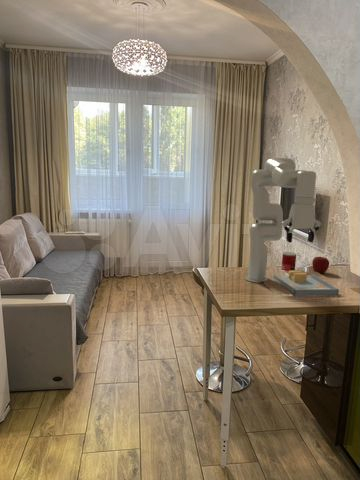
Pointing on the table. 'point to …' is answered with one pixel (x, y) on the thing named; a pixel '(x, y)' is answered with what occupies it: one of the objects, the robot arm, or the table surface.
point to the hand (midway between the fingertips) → (299, 241)
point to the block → (297, 276)
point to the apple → (320, 264)
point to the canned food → (288, 261)
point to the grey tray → (308, 287)
